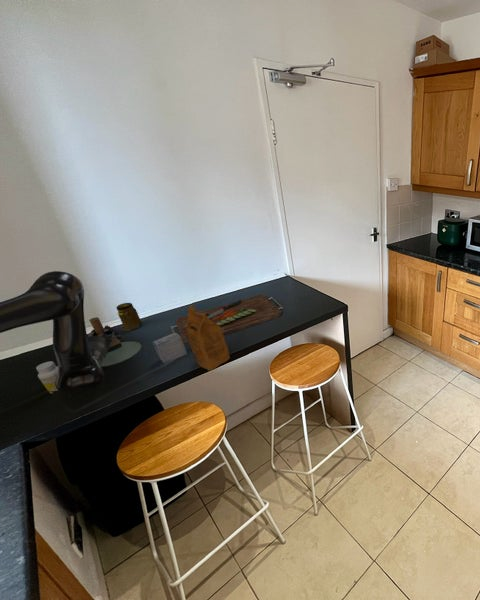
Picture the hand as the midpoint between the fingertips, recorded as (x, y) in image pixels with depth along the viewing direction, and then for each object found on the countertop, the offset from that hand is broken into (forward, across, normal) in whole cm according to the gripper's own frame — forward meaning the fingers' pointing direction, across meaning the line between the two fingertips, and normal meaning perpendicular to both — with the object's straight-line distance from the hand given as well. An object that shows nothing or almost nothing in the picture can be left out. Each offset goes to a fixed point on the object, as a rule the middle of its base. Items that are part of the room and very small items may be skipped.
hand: (102, 328), depth 120 cm
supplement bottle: (-20, +11, +10) cm, 24 cm away
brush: (-3, 0, +8) cm, 9 cm away
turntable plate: (-7, -2, +9) cm, 12 cm away
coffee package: (-30, -34, +10) cm, 46 cm away
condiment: (+13, -7, +9) cm, 18 cm away
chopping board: (+1, -43, +10) cm, 44 cm away
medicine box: (-20, -21, +10) cm, 31 cm away
